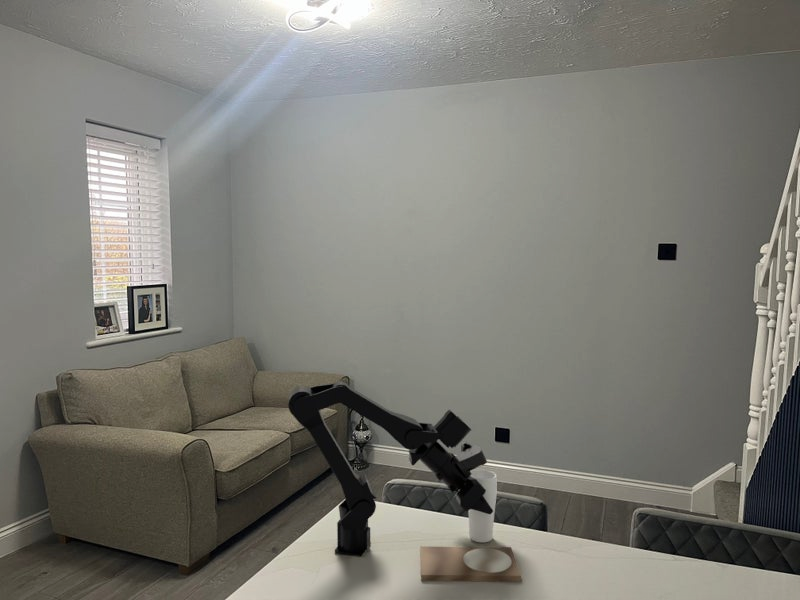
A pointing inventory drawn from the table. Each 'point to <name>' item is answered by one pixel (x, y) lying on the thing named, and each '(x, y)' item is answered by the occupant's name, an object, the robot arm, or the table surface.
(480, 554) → the walnut board
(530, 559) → the table surface
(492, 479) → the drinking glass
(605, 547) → the table surface
